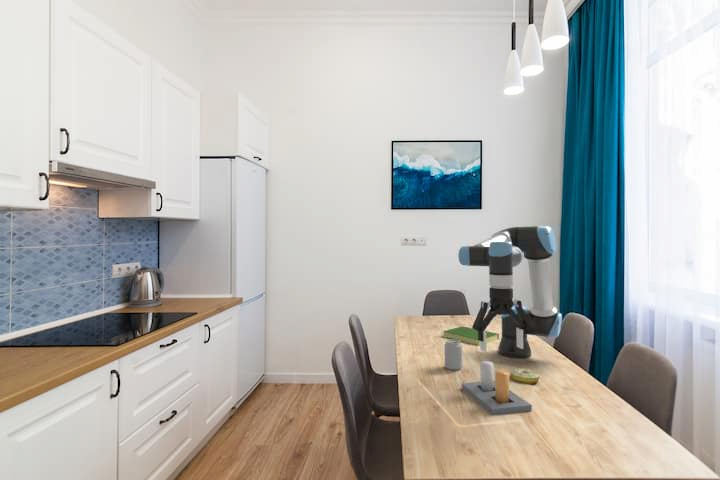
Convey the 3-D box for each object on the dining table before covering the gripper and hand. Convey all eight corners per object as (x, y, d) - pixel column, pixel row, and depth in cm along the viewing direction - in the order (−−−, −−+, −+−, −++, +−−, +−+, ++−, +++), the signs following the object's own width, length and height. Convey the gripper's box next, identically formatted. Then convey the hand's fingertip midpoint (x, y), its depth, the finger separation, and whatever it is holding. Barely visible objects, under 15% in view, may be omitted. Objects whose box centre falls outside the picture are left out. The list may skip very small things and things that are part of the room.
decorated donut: (543, 380, 153) (543, 370, 153) (534, 387, 145) (534, 378, 145) (516, 373, 160) (516, 364, 160) (506, 381, 152) (506, 371, 152)
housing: (461, 389, 143) (461, 383, 143) (495, 386, 146) (495, 380, 146) (492, 416, 121) (492, 409, 121) (531, 412, 124) (531, 405, 124)
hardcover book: (498, 340, 213) (498, 333, 213) (479, 346, 201) (479, 339, 201) (461, 332, 232) (461, 326, 232) (441, 337, 221) (441, 331, 221)
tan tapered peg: (504, 401, 131) (504, 369, 131) (511, 406, 127) (511, 374, 127) (492, 402, 130) (492, 370, 130) (499, 407, 126) (499, 374, 126)
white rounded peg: (489, 390, 141) (489, 360, 141) (495, 394, 137) (495, 364, 137) (478, 391, 140) (478, 361, 140) (484, 395, 136) (484, 365, 136)
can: (462, 371, 162) (462, 343, 162) (444, 370, 164) (444, 342, 164) (461, 365, 170) (461, 339, 170) (444, 364, 171) (444, 338, 171)
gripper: (527, 284, 134) (528, 343, 135) (461, 287, 130) (462, 348, 130) (541, 286, 127) (541, 349, 127) (472, 290, 122) (473, 355, 123)
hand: (501, 349), depth 129 cm, fingers open, 13 cm apart
